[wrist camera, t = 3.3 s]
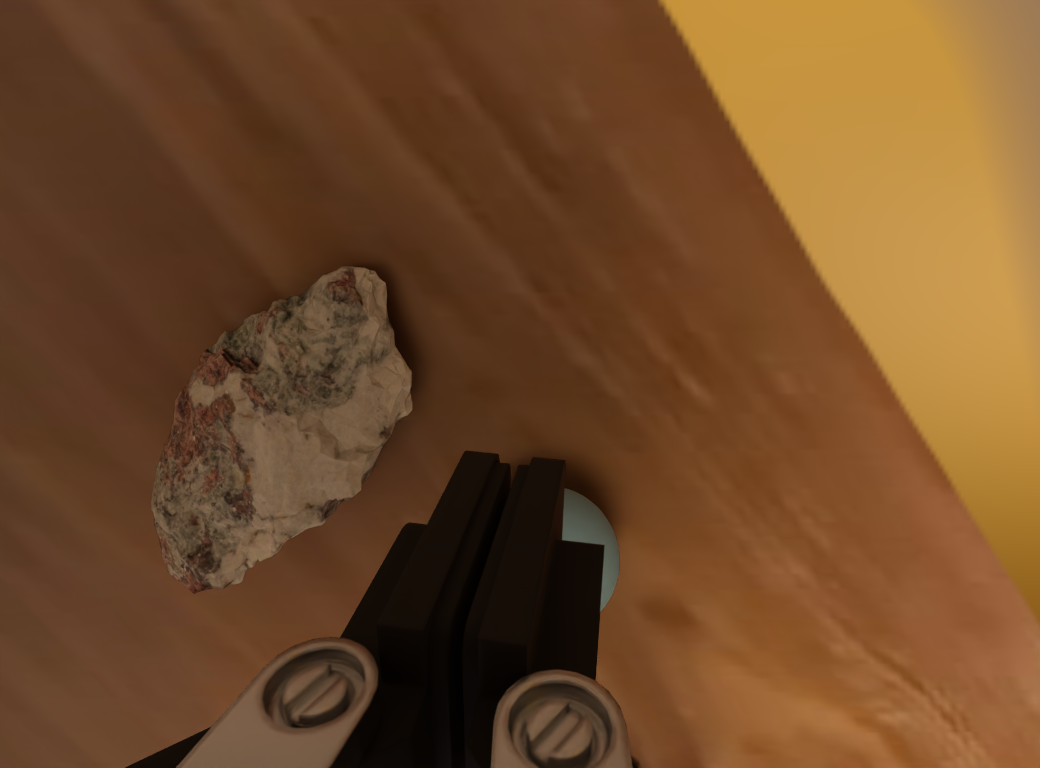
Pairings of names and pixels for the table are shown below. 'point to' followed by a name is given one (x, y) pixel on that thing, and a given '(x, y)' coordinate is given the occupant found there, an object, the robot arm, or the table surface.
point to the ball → (592, 536)
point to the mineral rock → (278, 428)
